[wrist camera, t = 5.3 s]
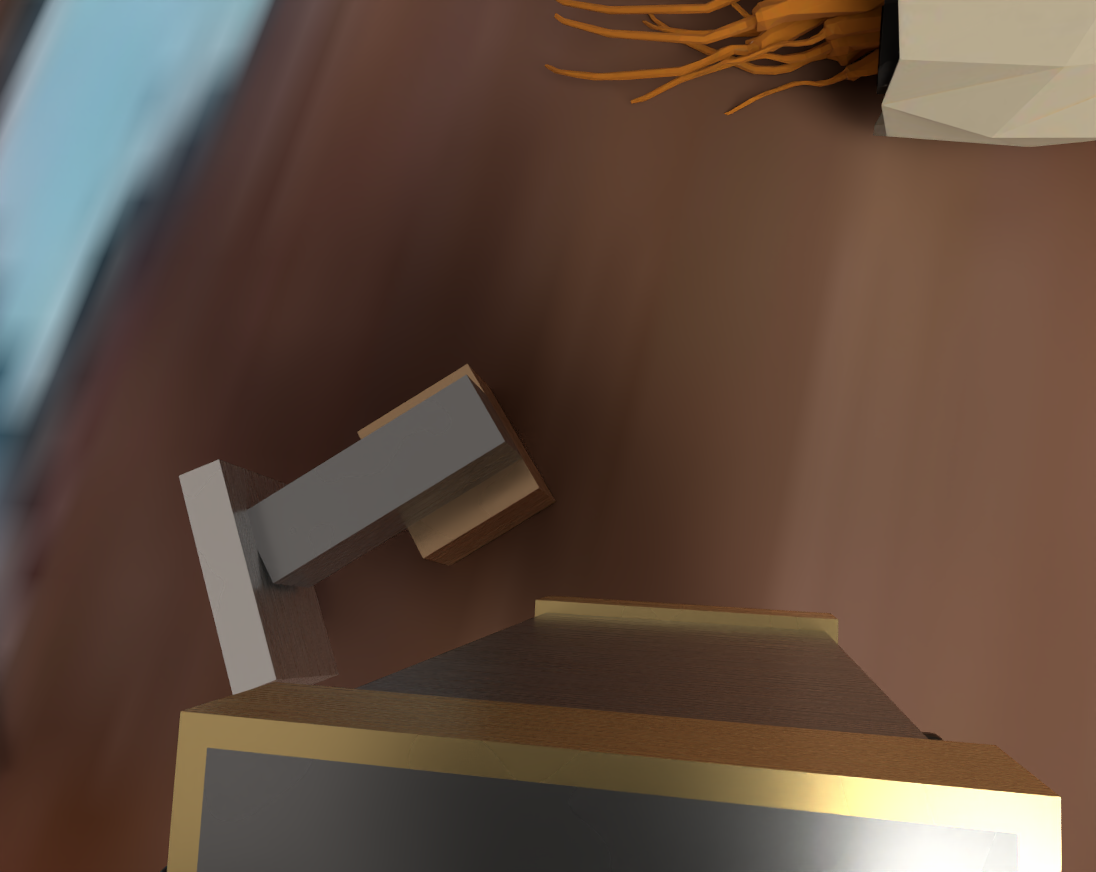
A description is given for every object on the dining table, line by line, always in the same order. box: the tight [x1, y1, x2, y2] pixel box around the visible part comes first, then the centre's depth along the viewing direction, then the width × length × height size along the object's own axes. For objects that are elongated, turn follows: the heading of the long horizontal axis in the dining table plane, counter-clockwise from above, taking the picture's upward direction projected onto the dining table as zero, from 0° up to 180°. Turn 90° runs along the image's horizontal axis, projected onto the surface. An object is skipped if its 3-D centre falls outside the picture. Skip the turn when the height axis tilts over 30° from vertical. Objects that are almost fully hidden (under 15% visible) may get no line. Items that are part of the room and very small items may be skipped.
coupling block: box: [167, 596, 1061, 872], centre depth 11 cm, size 5×5×13 cm
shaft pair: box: [179, 364, 556, 695], centre depth 23 cm, size 6×23×5 cm, turn 110°
